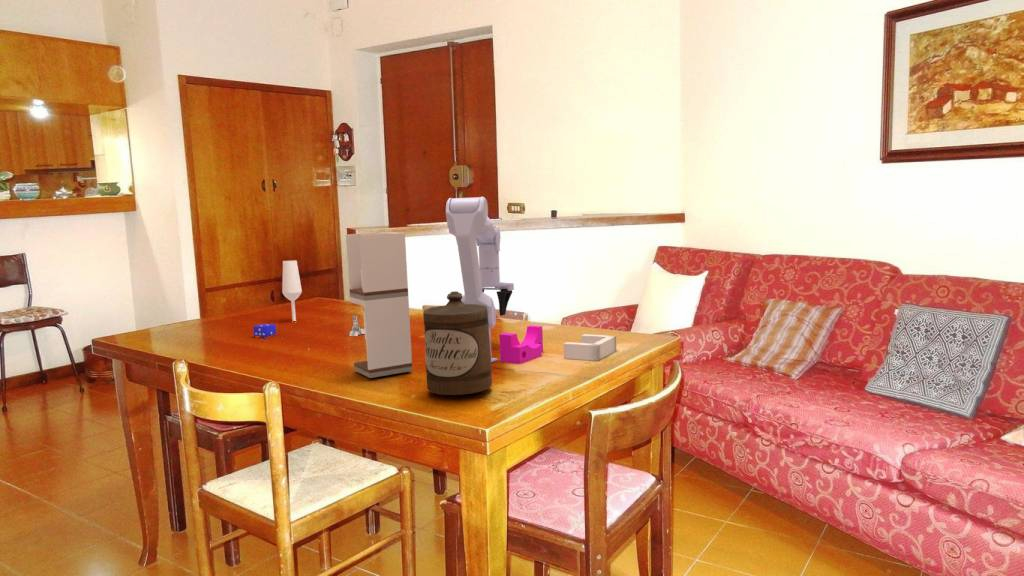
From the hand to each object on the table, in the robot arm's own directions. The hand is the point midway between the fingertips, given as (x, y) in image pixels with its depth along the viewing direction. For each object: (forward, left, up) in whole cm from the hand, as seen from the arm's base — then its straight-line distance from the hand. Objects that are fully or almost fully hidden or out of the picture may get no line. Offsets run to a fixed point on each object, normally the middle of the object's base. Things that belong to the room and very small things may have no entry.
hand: (491, 314), depth 205 cm
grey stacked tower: (-36, +11, -10) cm, 39 cm away
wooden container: (-43, -16, -10) cm, 47 cm away
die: (-15, +77, -10) cm, 79 cm away
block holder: (-1, -31, -9) cm, 32 cm away
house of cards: (-2, +47, -10) cm, 48 cm away
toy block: (-10, -16, -10) cm, 21 cm away
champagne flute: (+7, +86, -10) cm, 87 cm away
